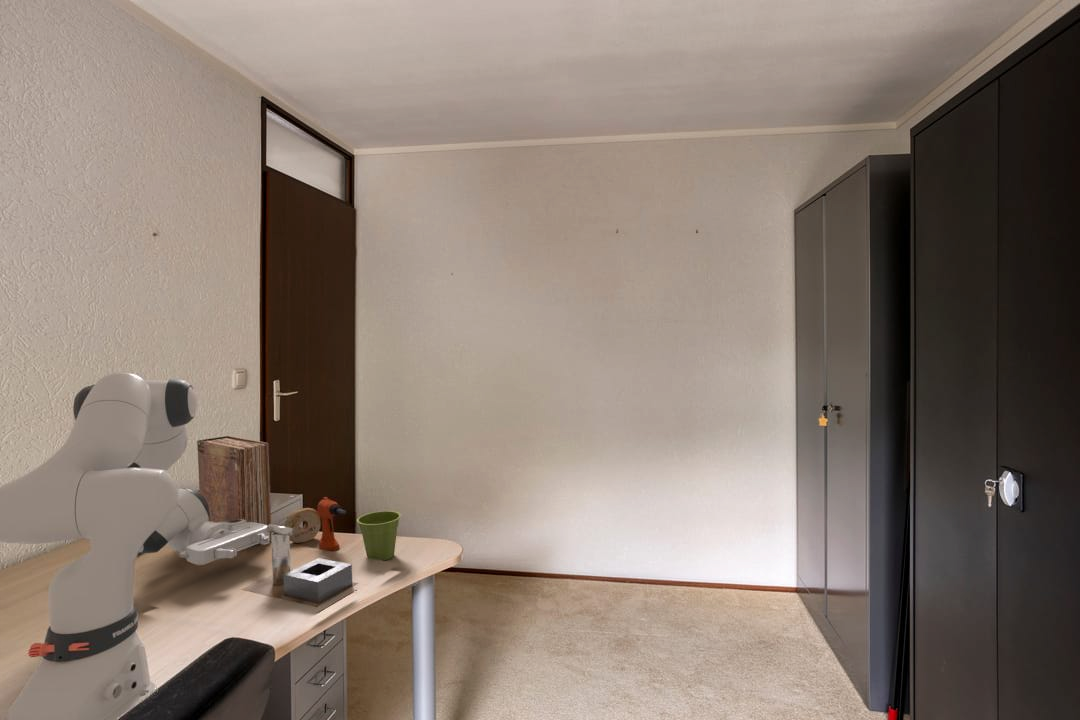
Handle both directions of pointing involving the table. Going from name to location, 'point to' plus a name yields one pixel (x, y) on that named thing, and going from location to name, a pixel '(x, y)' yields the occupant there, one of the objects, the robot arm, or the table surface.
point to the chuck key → (280, 552)
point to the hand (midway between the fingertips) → (251, 547)
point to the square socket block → (317, 580)
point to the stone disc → (308, 529)
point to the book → (235, 479)
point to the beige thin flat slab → (271, 590)
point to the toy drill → (328, 523)
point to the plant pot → (379, 533)
